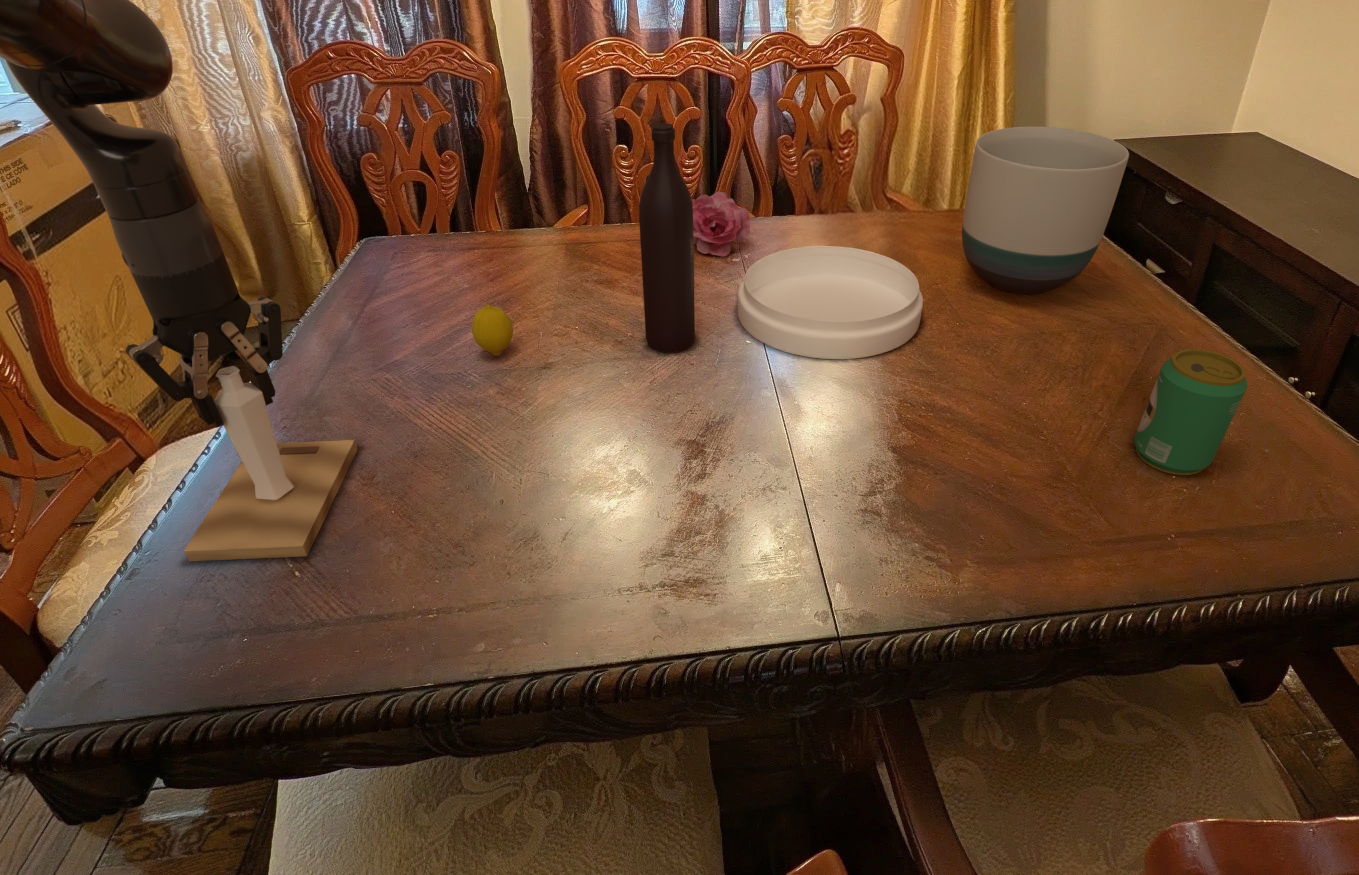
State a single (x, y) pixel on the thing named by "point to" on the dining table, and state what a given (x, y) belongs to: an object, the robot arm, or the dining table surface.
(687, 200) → the wine bottle
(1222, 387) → the beverage can
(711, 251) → the flower
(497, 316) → the fruit
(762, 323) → the plate
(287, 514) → the serving board
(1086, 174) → the planter
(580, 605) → the dining table surface
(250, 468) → the perfume bottle
